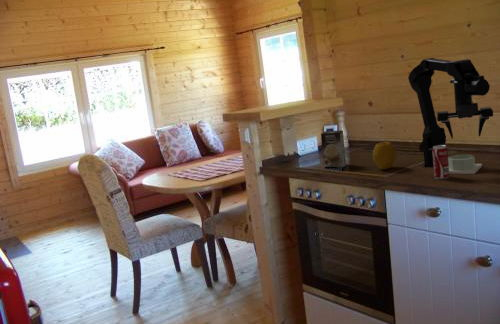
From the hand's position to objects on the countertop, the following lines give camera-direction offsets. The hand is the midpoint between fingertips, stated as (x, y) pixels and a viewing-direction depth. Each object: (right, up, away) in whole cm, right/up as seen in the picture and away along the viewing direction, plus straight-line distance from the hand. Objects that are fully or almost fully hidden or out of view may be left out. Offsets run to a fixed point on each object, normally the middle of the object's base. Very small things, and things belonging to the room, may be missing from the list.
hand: (465, 137), depth 191 cm
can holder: (+2, -12, +8) cm, 15 cm away
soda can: (-8, -15, +1) cm, 17 cm away
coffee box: (-40, -11, +47) cm, 63 cm away
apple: (-22, -12, +28) cm, 38 cm away
